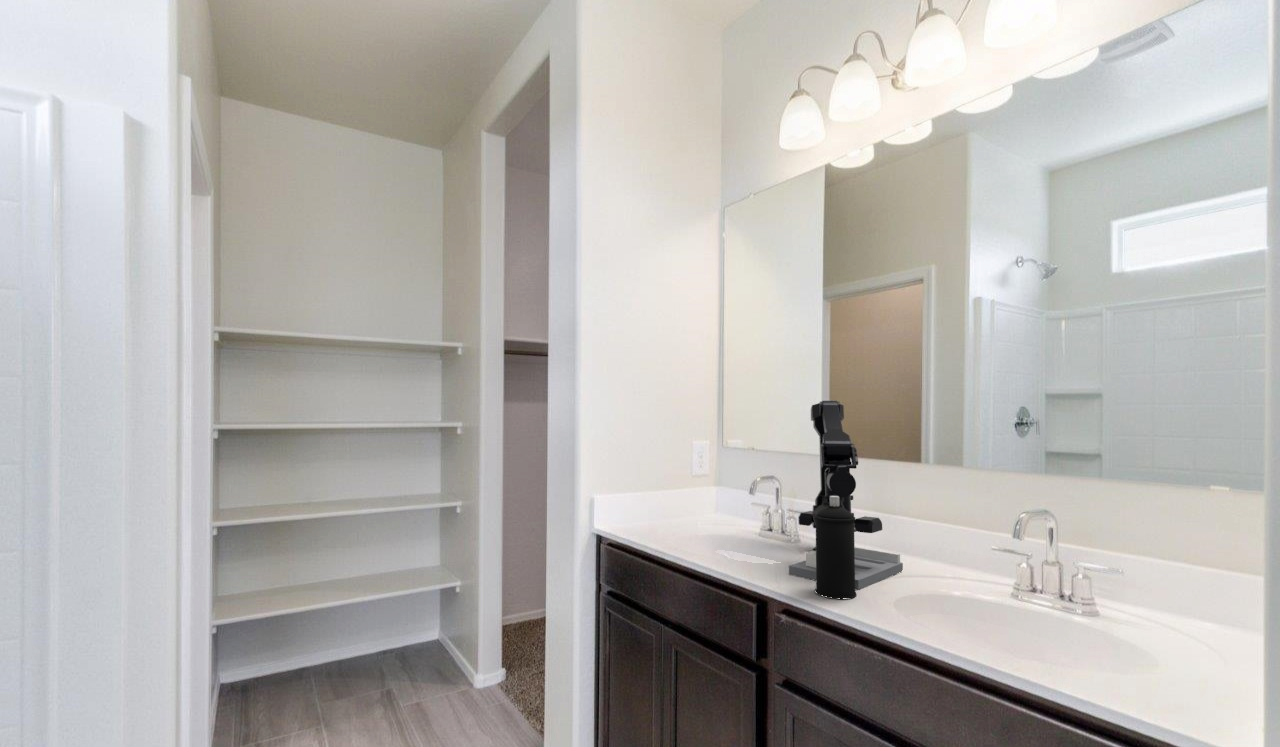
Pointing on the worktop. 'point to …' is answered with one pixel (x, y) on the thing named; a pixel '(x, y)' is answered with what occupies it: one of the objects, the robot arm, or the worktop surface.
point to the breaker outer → (811, 559)
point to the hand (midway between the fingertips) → (840, 558)
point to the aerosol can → (835, 551)
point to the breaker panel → (861, 567)
